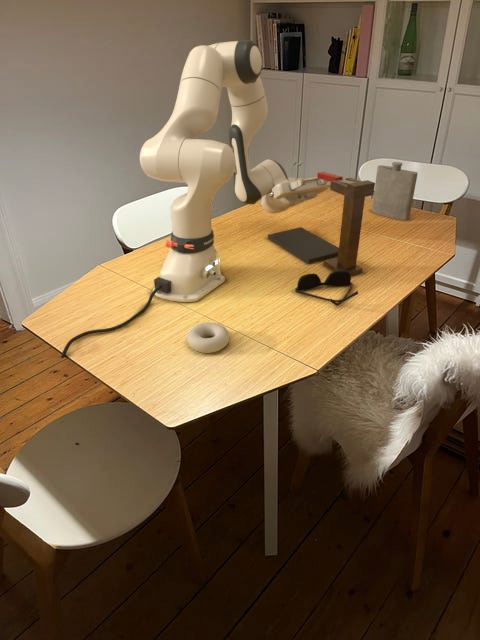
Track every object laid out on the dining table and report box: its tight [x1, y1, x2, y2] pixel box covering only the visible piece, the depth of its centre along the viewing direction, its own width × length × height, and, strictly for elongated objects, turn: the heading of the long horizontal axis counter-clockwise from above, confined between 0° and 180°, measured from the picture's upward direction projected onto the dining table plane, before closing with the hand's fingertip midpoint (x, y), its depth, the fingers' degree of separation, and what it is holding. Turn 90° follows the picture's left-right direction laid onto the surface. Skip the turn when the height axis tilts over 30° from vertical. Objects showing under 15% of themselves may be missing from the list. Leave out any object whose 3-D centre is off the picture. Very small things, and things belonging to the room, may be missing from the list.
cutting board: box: [267, 226, 339, 265], centre depth 157 cm, size 24×14×2 cm, turn 29°
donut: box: [186, 321, 230, 354], centre depth 109 cm, size 10×4×10 cm
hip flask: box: [371, 161, 419, 222], centre depth 176 cm, size 16×4×20 cm, turn 44°
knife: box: [316, 171, 355, 184], centre depth 133 cm, size 18×3×2 cm, turn 29°
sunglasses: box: [294, 270, 359, 307], centre depth 126 cm, size 17×14×5 cm
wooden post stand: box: [322, 177, 376, 277], centre depth 135 cm, size 10×7×27 cm
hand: (315, 179), depth 142 cm, fingers open, 8 cm apart
